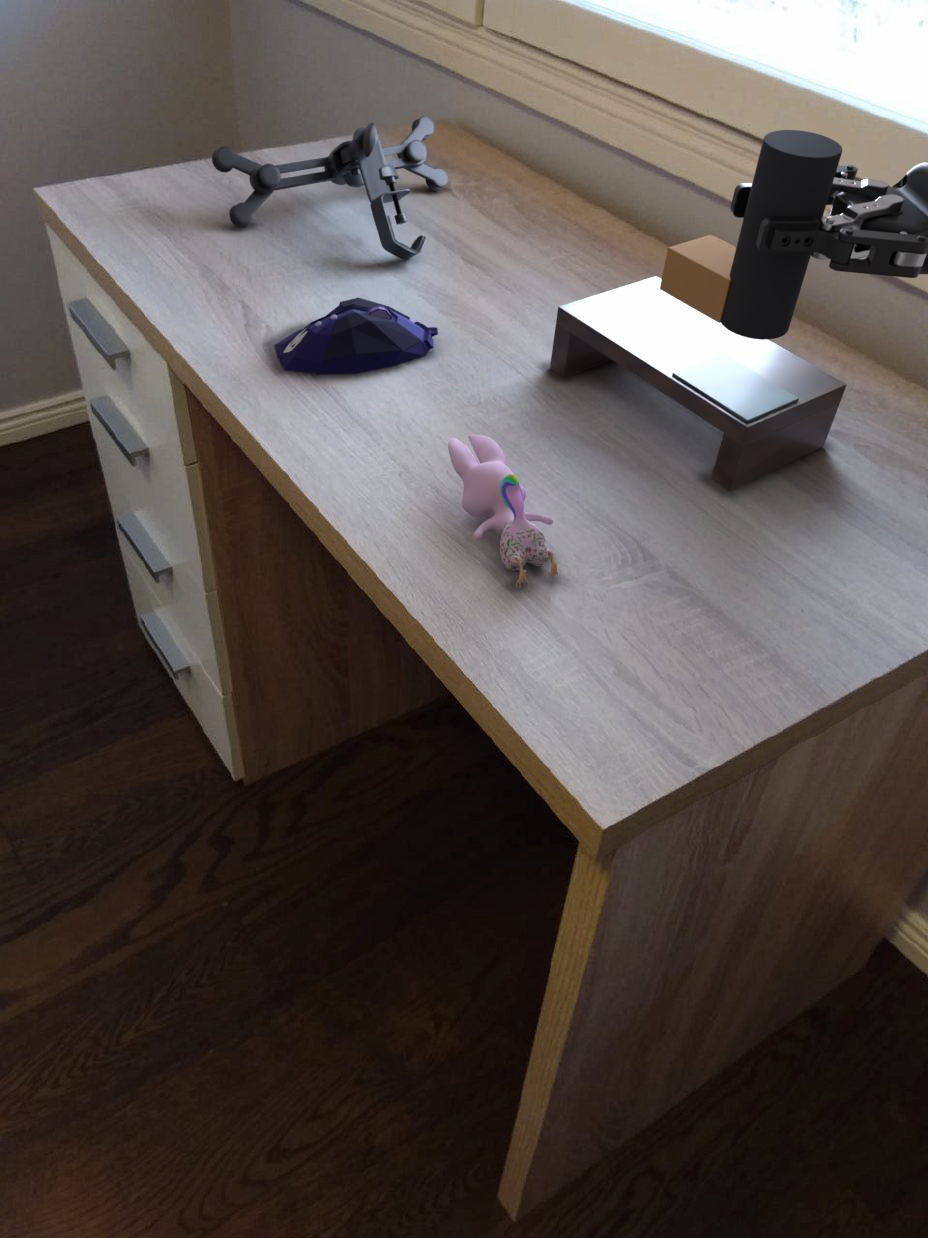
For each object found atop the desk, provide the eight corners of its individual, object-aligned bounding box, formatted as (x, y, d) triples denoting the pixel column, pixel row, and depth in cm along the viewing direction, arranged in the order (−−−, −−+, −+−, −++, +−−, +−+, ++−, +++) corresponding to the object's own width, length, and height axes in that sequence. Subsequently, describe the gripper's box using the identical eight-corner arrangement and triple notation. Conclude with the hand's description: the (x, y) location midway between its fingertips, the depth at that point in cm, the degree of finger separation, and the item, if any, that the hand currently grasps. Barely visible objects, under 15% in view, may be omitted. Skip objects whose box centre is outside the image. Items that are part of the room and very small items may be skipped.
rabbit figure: (573, 587, 73) (494, 446, 81) (591, 532, 69) (506, 387, 77) (493, 606, 71) (421, 459, 79) (506, 550, 67) (428, 400, 75)
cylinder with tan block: (802, 328, 77) (859, 149, 68) (756, 346, 74) (808, 162, 65) (703, 274, 82) (742, 102, 73) (657, 289, 80) (692, 113, 71)
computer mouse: (267, 329, 95) (264, 288, 92) (421, 314, 98) (423, 275, 96) (286, 381, 88) (283, 339, 86) (449, 363, 92) (452, 323, 89)
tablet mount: (464, 261, 123) (426, 117, 119) (526, 229, 110) (486, 68, 107) (257, 308, 111) (208, 151, 108) (301, 279, 99) (247, 100, 95)
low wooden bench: (824, 446, 86) (848, 382, 82) (728, 491, 81) (748, 425, 76) (643, 334, 98) (656, 273, 94) (549, 367, 93) (558, 304, 89)
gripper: (947, 128, 76) (728, 124, 73) (1049, 207, 65) (798, 205, 63) (911, 228, 81) (705, 226, 79) (1000, 315, 71) (766, 316, 68)
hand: (748, 217), depth 71 cm, fingers closed on cylinder with tan block, 5 cm apart
